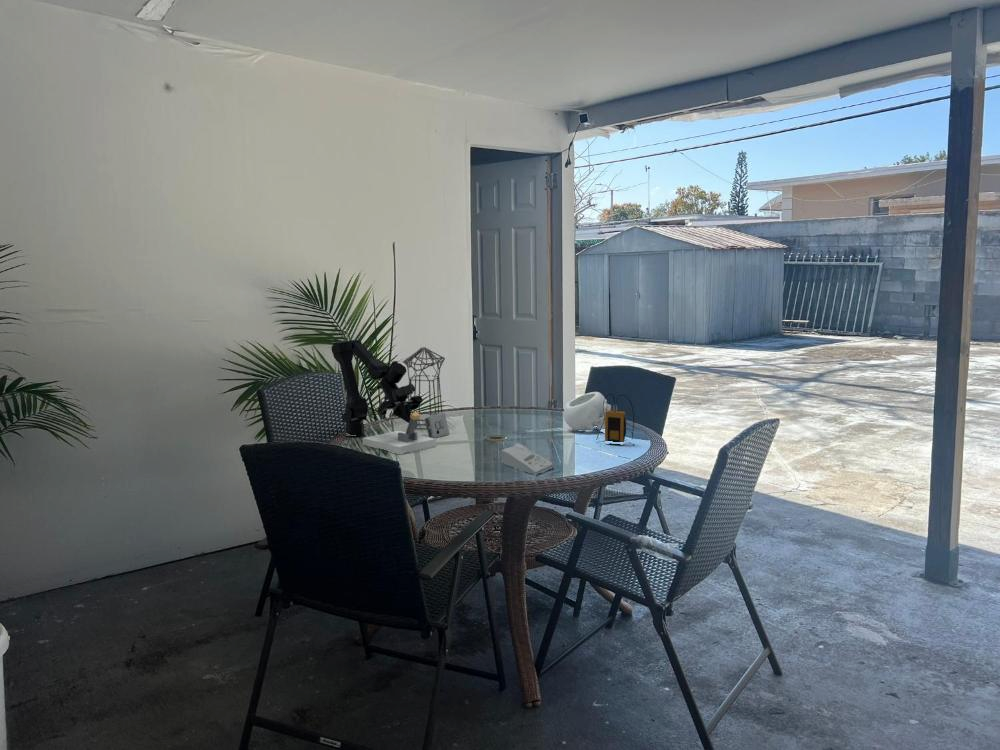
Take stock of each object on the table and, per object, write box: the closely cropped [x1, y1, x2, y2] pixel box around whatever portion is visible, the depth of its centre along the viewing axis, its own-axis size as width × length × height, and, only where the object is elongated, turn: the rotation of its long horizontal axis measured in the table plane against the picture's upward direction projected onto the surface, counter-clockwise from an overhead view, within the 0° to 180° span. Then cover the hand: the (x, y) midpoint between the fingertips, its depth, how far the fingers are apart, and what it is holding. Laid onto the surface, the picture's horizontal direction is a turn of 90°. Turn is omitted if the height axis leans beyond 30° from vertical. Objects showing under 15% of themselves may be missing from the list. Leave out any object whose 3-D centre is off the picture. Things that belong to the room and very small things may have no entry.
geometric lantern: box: [402, 346, 446, 430], centre depth 323 cm, size 16×16×35 cm
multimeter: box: [595, 393, 635, 442], centre depth 295 cm, size 15×10×20 cm
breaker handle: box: [405, 411, 421, 439], centre depth 285 cm, size 2×3×11 cm, turn 138°
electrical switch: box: [424, 412, 450, 439], centre depth 309 cm, size 9×5×9 cm, turn 141°
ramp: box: [500, 442, 554, 474], centre depth 262 cm, size 28×16×5 cm, turn 14°
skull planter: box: [563, 391, 612, 431], centre depth 317 cm, size 14×20×19 cm
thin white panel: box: [362, 430, 437, 455], centre depth 291 cm, size 22×18×6 cm
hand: (411, 422), depth 285 cm, fingers closed
